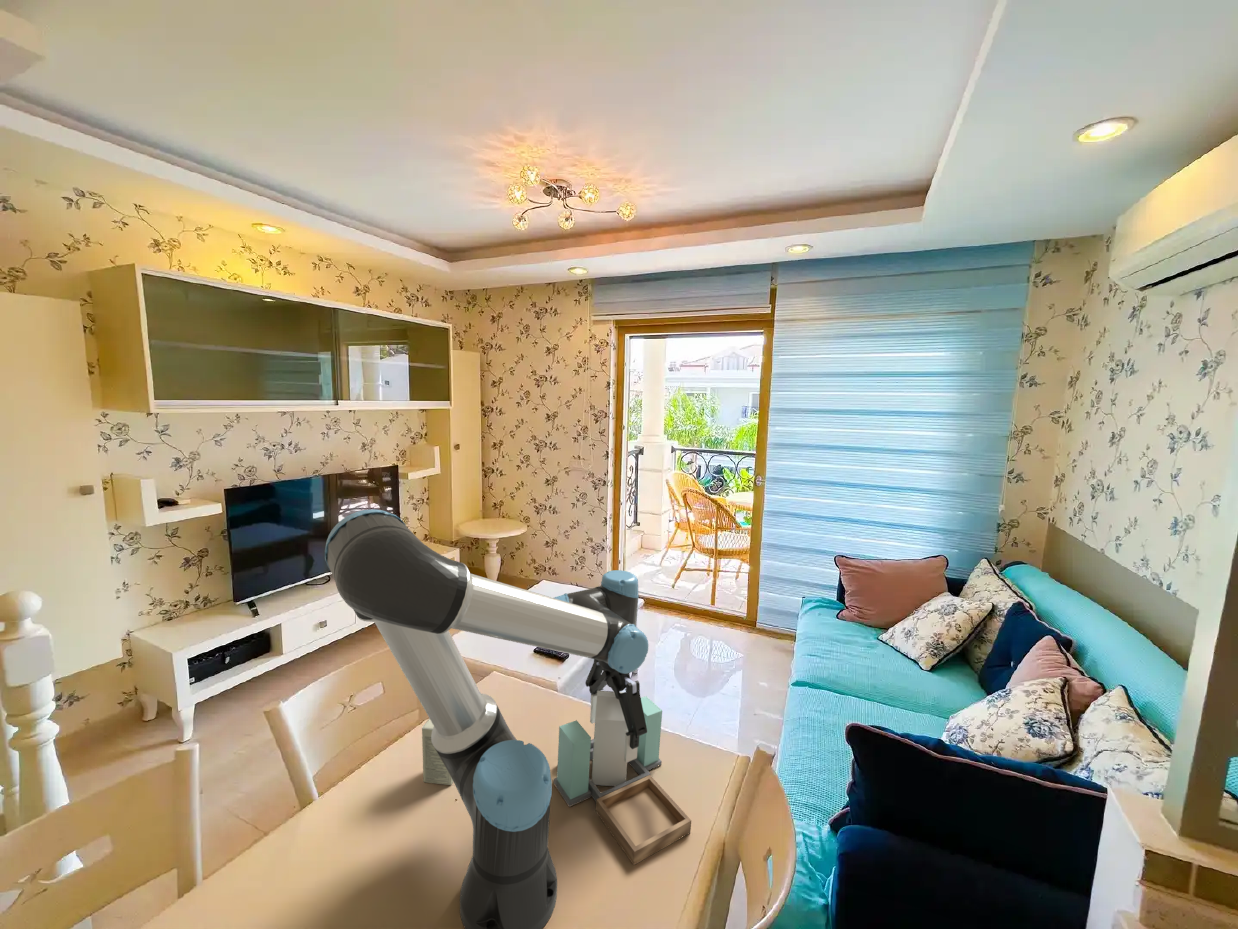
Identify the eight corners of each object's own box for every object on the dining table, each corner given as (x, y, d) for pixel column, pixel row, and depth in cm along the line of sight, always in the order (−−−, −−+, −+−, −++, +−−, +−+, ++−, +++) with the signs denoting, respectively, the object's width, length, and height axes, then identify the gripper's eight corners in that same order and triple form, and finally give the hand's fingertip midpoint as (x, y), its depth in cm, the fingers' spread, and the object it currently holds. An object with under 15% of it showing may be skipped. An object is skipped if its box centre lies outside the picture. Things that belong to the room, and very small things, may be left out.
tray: (633, 865, 87) (634, 852, 86) (595, 811, 97) (596, 799, 97) (690, 833, 94) (691, 820, 93) (649, 786, 105) (649, 774, 104)
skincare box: (460, 770, 106) (461, 717, 104) (451, 786, 101) (452, 731, 100) (431, 767, 106) (431, 714, 105) (421, 782, 102) (421, 727, 100)
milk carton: (625, 788, 104) (631, 703, 101) (591, 785, 104) (596, 701, 101) (625, 763, 111) (631, 683, 108) (593, 760, 111) (598, 681, 108)
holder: (575, 817, 96) (579, 755, 94) (544, 770, 107) (547, 714, 106) (669, 773, 108) (673, 718, 107) (632, 735, 120) (636, 685, 118)
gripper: (669, 670, 95) (662, 770, 98) (601, 618, 116) (597, 702, 119) (637, 681, 91) (631, 785, 94) (572, 625, 112) (569, 712, 115)
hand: (612, 739), depth 106 cm, fingers open, 13 cm apart
